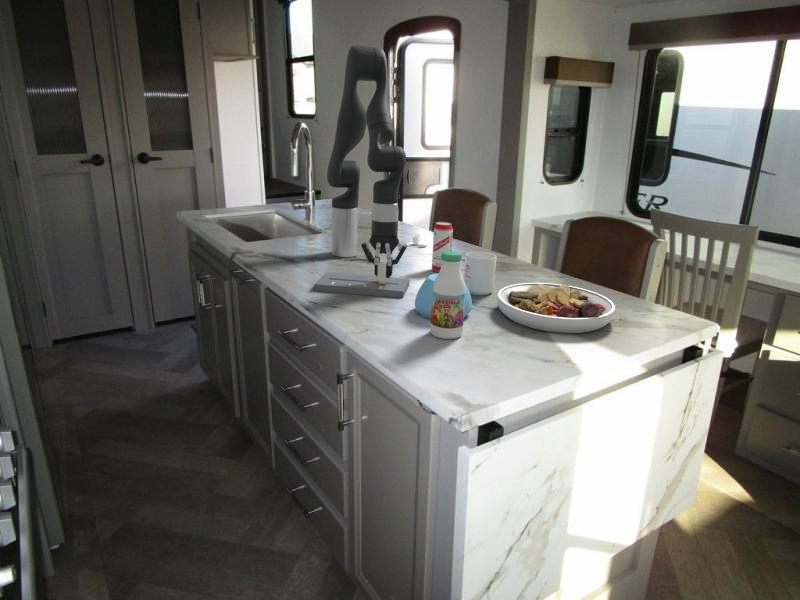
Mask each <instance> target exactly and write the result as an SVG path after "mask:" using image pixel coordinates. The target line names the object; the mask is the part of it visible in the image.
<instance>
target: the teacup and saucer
mask: <svg viewBox="0 0 800 600" xmlns="http://www.w3.org/2000/svg"><path fill="white" fill-rule="evenodd" d="M411 239H412V242H408V243H406V245H407V247H411V248H415V247H418V248H425V247H427V246H428V243H426V242H421V239H422V238H421V235H419V234H418V235H417V234H415V235H412V236H411ZM411 244H413V245H411Z"/></svg>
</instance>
